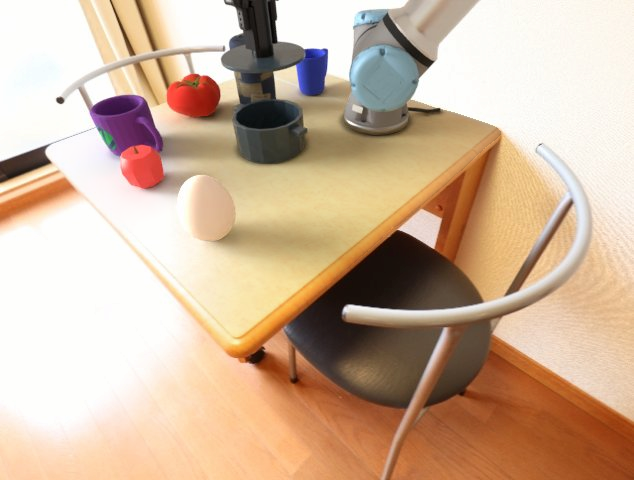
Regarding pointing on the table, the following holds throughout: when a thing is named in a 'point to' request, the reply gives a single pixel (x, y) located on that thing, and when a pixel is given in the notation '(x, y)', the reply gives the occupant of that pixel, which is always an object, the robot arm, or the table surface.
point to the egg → (205, 208)
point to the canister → (252, 80)
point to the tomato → (194, 95)
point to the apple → (142, 166)
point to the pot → (269, 130)
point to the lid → (263, 48)
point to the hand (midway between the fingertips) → (262, 45)
